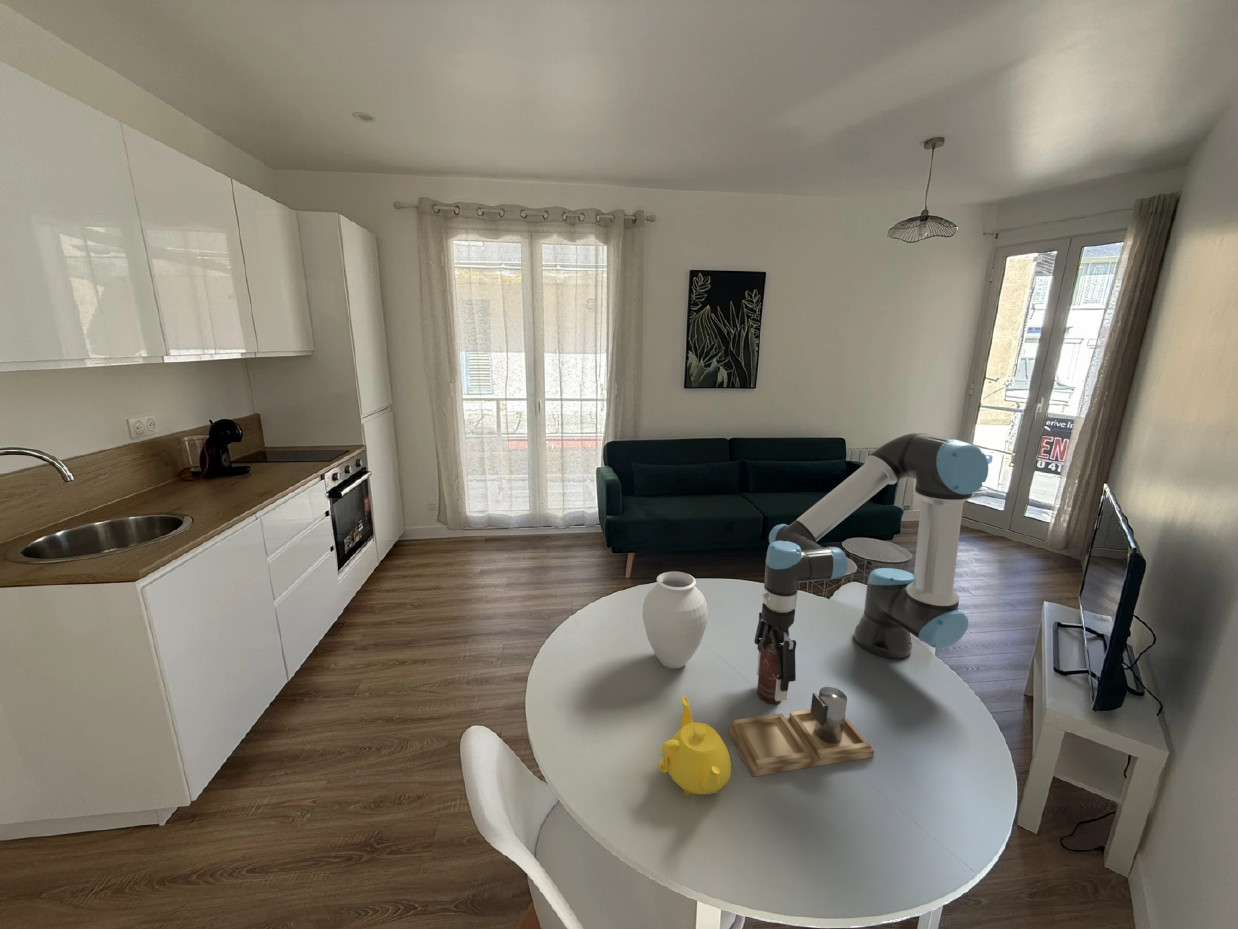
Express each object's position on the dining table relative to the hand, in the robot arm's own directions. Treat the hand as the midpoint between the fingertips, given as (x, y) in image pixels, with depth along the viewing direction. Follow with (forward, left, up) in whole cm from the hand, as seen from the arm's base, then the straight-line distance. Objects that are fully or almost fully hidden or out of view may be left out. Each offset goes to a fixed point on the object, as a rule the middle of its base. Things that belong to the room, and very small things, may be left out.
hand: (771, 686), depth 120 cm
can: (0, 0, -3) cm, 3 cm away
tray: (+1, +15, -3) cm, 15 cm away
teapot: (+27, +19, -3) cm, 33 cm away
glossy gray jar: (-6, +15, -1) cm, 16 cm away
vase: (+20, -18, -3) cm, 27 cm away
